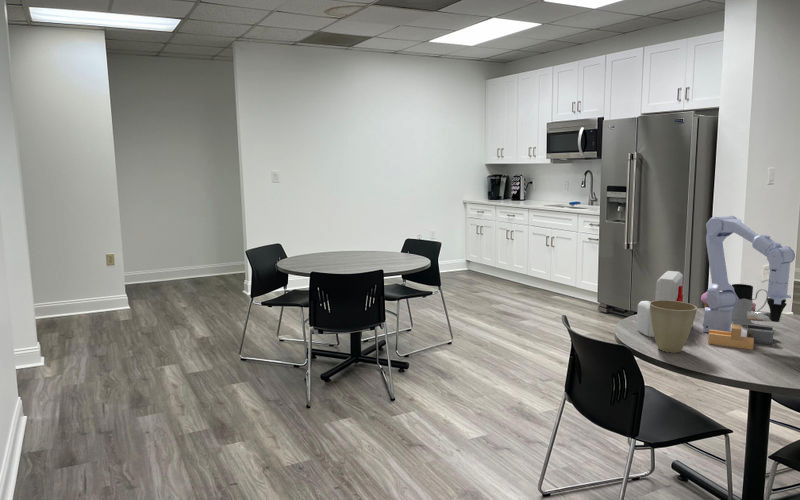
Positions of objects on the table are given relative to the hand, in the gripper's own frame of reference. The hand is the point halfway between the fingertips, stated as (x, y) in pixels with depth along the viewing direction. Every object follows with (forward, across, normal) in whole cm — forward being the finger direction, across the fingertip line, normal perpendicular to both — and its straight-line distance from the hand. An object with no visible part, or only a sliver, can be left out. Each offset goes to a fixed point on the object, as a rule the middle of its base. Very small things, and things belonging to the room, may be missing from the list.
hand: (774, 320), depth 209 cm
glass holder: (+10, +34, +8) cm, 36 cm away
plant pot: (+10, -19, +31) cm, 38 cm away
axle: (+1, 0, +4) cm, 4 cm away
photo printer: (+10, -2, +41) cm, 42 cm away
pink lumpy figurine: (+10, +46, +8) cm, 47 cm away
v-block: (+10, +9, +4) cm, 14 cm away
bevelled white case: (+10, +15, +35) cm, 40 cm away
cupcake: (+10, +42, +21) cm, 48 cm away
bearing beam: (+10, -2, +14) cm, 17 cm away
